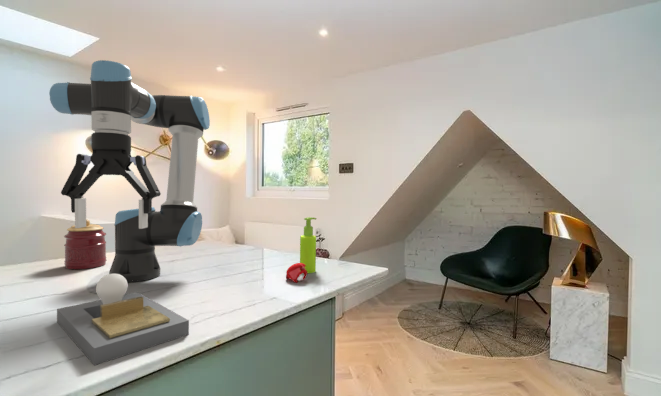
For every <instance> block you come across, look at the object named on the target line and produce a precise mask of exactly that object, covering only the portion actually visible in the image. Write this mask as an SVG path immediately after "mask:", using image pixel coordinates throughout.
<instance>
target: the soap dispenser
mask: <svg viewBox="0 0 661 396" xmlns="http://www.w3.org/2000/svg"><path fill="white" fill-rule="evenodd" d="M303 220H304V221H306V222H305V226H303V235H302V234H301V235H300V239H299V240H300V241H299V244H300V245H299V263H303V264H305V265H306V266H305V267H304V268H305V269H306V271H307V274H311V273H312V274H313V273H316V269H317V267H316V266H317V265H316V263H317V261H316V260H317V258H316V257H317V236H316V235H313V234H314V227H313V226H312V225H311V223H312V222H311V221H312V220H317V218H316V217H310V216H309V217H308V216H307V217H304V218H303ZM300 271H301V270H300Z"/></svg>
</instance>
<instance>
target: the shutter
mask: <svg viewBox="0 0 661 396" xmlns="http://www.w3.org/2000/svg"><path fill="white" fill-rule="evenodd" d="M169 321H170V318H168V317H167V316H165V315H163V314H162V313H160V312H158V311H157V310H155V309H153V308H151V307H150V306H145V307H143V297H142V296H141V297H136V298H131V299H127V300H122V301H118V302H113V303H108V304H104V305H100V317H99V318H95V319H92V323H93V324H94V325H96V326H97V327H98V328H99V329H100V330H101V331H102V332H103V333H104V334H105V335H107V336H108V337H109V338H113V337H116V336H120V335H123V334H127V333H130V332H134V331H137V330H141V329H144V328H148V327H151V326H155V325H158V324H162V323H165V322H169Z"/></svg>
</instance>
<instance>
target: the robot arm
mask: <svg viewBox="0 0 661 396" xmlns="http://www.w3.org/2000/svg"><path fill="white" fill-rule="evenodd" d="M90 70H91V71H90V78H89V79H90V83H82V82H79V83H78V82H70V81H69V82H68V81H66V82H56V83H54V84H52V86H51V87H50V88H49V101H50V104H51V106H52V107H53V108H54V110H55V111H57V113H59V114H67V115H68V114H69V115H71V116H73V115H81V116H82V115H83V116H84V115H85V116H86V115H87V116H91V117H90V119H91V121H90V122H91V130H92V131H93V132H92V133H91V140H90V141H91V143H90V144H91V145H90V146H91V151H92V154H91V155H89V154H84V153H82V154H81V153H77V154H76V158H75V164H74V166H73V169H72V170H71V171H70V174H69V176H68V178H67V179H66V182H65V183H64V185H63V187H62V189H61V191H60V194H61V195H62V196H66V197H68V198H70V205H71V206H70V211H71V213H74V225H75V228H82V227H86V219H87V198H86V197H85V198H84V195H85V194H86V193H87V192H88V191H89V189H90V188H92V186H93V185H94V184H95V183H96V182H97V181H98V180H99V179H100V178H101V177H102V176H103V175H104V176H112V175H113V176H122V177H124V179H125V180H126V181H127V182H128V183H129V184H130V185H131V186H132V188H134V190H135V191H136V192H137V193H138V194H139V196H140V197H141V199H138V208H131V209H125V210H119V211H118V212H116V214H115V217H114V224H113V225H114V251H115V253H114V258H113V260H112V263H111V266H110V267H109V269H110V270H109V272H108V274H120V275H122V276H123V277H124V278H125V279H126V280H127V283H134V282H135V283H136V282H142V281H148V280H151V279H155V278H158V277H159V276H160V275H161V266H160V263H159V261H158V257H157V255H156V252H155V251H156V250H155V247H180V248H181V247H188V246H190V247H191V246H192V245H194V244H195V243H197V241H198V240H199V238H200V235H201V232H202V226H203V214H202V213H201V212H200V211H199V210H198V206H197V205H196V204H195V203H194V197H195V196H194V194H195V183H196V173H197V172H196V171H197V158H198V146H199V140H200V138H202V137H203V135H204V131H205V130H209V128H210V122H211V121H210V120H211V119H210V114H209V108H208V106H207V103H206V101H205V99H204V98H203V97H200V96H193V95H170V94H168V95H167V94H166V95H165V94H158V95H157V94H156V95H155V94H154V95H152V94H151V93H149V92H148V91H147V90H146V89H145V88H142V87H140V86H138V85H137V84H136V83H133V81H132V80H133V79H132V73H131V69H130V67H129V66H127V65H125V64H123V63H121V62H118V61H114V60H105V59H104V60H103V59H100V60H96V61H94V62H92V64H91V69H90ZM132 122H134V123H135V124H141V125H147V126H151V127H156V128H162V129H168V132H169V133H170V134H171V135H172V137H171V147H170V148H171V149H170V159H169V167H168V168H169V169H168V179H167V189H166V200H165V201H164V202H163V203H162V204H160V210H159V211H158V210H157V211H156V209H155V207H153V205H152V204H153V202H152V201H153V199H154V198H157V197H160V196H161V194H162V193H161V191H160V189H159V187H158V185H157V183H156V182H155V179H154V178H153V175H152V173H151V172H150V170H149V168H148V166H147V159H146V157H145V156H144V155H136V156H132V155H131V152H132V137H131V136H130V135H129V134H131V133H132ZM91 163H92V165H93V166H92V167H91V168H90V170H88V173H87V174H86V175H85V173H86V170H87V169H88V166H89V165H90V164H91ZM131 164H133V165H134V166H136V168H137V169H136V170H137V171H138V173H139V175H140V177H141V179H142V180H143V183H142V182H141V180H140V179H139V178H138V177H137V176H136V174H135V172H134V171H133V170H132V168H131V167H130V166H131ZM84 175H85V177H84V178H83V176H84ZM82 178H83V179H82ZM144 184H145V185H144Z"/></svg>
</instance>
